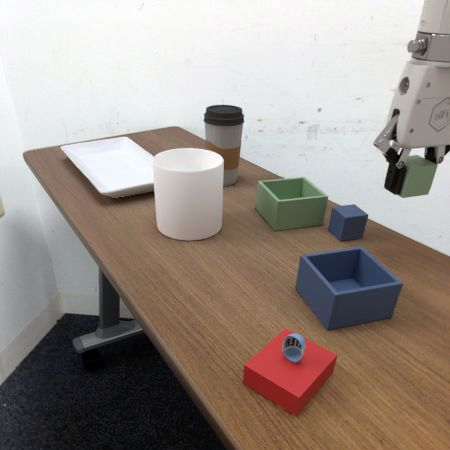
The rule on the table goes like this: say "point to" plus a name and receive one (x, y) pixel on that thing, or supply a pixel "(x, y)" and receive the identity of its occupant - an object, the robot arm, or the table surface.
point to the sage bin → (291, 203)
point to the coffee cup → (225, 137)
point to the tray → (114, 165)
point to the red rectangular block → (289, 370)
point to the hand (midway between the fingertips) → (406, 188)
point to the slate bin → (347, 287)
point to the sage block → (417, 176)
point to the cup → (188, 193)
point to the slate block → (347, 222)
